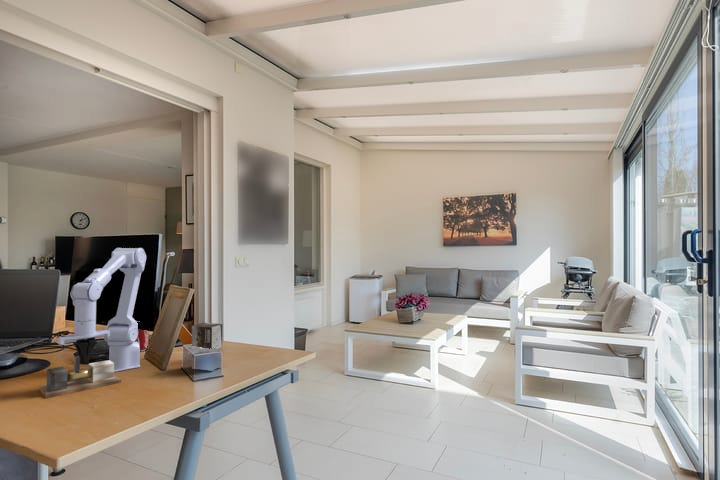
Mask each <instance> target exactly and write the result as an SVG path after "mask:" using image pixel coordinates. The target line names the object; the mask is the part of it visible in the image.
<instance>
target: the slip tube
mask: <svg viewBox="0 0 720 480" xmlns="http://www.w3.org/2000/svg"><path fill="white" fill-rule="evenodd" d="M80 363H81V361H80V357H79V355H77V356H74V357H73V371H71V372H68V373H67V382H72V381H77V380H82V379H87V378H92V377H93V368H92V369H89V368H88V369H83V370H80V368H81V364H80Z"/></svg>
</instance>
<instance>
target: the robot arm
mask: <svg viewBox="0 0 720 480" xmlns="http://www.w3.org/2000/svg"><path fill="white" fill-rule="evenodd" d="M146 261H147V254H146V252H145V249H144V248H143V247H138V248H137V247H135V248H133V247H132V248H131V247H129V248H128V247H127V248H126V247H125V248H124V247H123V248H122V247H116V248H115V249H114V250H113V251H111V258H109V260H108V261H107V262H106V263H105V264H104V266H102V268H95V269H93V272H92V273H90V275H88V276H87V277H86V278H85V279H84V280H83V281H82V282H77V283H76V284H74V285H73V286H72V288H71V291H70V292H69V293H70V297H71V299H72V305H73V306H74V334H69V335H65V336H64V335H63V336H60V337H57V345H62V346H63V345H65V344H70V343H72V344H73V346H74V347H75V350H76V351H77V354H78V356H79V357H80V363H81V364H83V365H84V364H89V362H90V357H91V355H92V352H93V350H94V348H95V346H96V345H97V341H98V340H97V339H100V338H103V339H104V341H105V342H106V343H107V346H108V347H109V349H108V350H109V352H108V353H109V354H108V355H109V356H108V359H109V360H110V361H112V362H113V363H114V373H116V372H121V371H127V370H131V369H137V368H141V365H140V363H141V362H140V361H141V360H140V358H141V357H140V356H141V352H140V347H139V344H138V342H135V340H136V339H137V336H138V323H137V322H138V321H137V320H135V318H134V317H133V314H134V309H135V304H136V300H137V294H138V290H139V286H140V281H141V275H142V273H143V272H144V270H145V266H146ZM118 270H120V272H123V274H124V279H123V284H122V286H121V287H122V289H121V291H120V292H121V293H120V297H119V302H118V307H117V311H116V314H115V316H114V317H113V318H111V319H110V320H108V322H107V326H106V327H105V329H103V330H97V329H96V328H97V327H96V325H97V300H98V299H100V297H101V294H102V292H103V290H104V288H105V287H106V286H107V284H108V283H110V281H111V279H112V275H113V274H114V273H116V272H117V271H118Z"/></svg>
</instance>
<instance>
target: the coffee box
mask: <svg viewBox="0 0 720 480" xmlns="http://www.w3.org/2000/svg"><path fill="white" fill-rule="evenodd" d="M223 325H224V323H213V322H200V323H197V324H194V325H191V347H192V346H196V347H202V348H209V349H210V348H211V349H212V348H216V349H218V350H219V351H221V355H222V356H223Z"/></svg>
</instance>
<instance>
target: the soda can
mask: <svg viewBox="0 0 720 480" xmlns="http://www.w3.org/2000/svg"><path fill="white" fill-rule="evenodd" d="M149 331H150V330H149ZM149 331H147V330H140V329H138V336H137V339H136V340H135V341H134V342H138V344H139V347H140V351H141V352H146V351H145V350H146V348H147V346H148V347H149V343H150V342H149V337H150V334H149V333H150V332H149Z"/></svg>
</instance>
